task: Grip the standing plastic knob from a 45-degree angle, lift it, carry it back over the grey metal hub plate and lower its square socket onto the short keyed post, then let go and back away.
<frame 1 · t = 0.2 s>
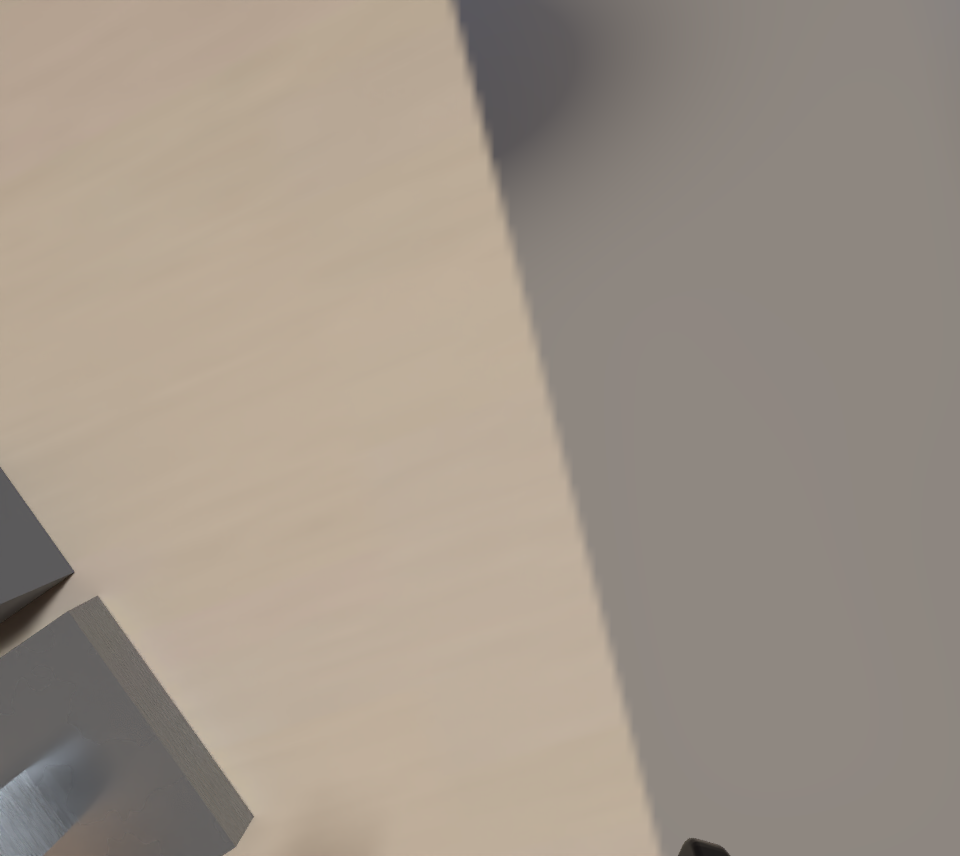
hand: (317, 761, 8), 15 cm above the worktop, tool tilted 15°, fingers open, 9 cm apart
hub plate: (50, 790, 25), on the worktop
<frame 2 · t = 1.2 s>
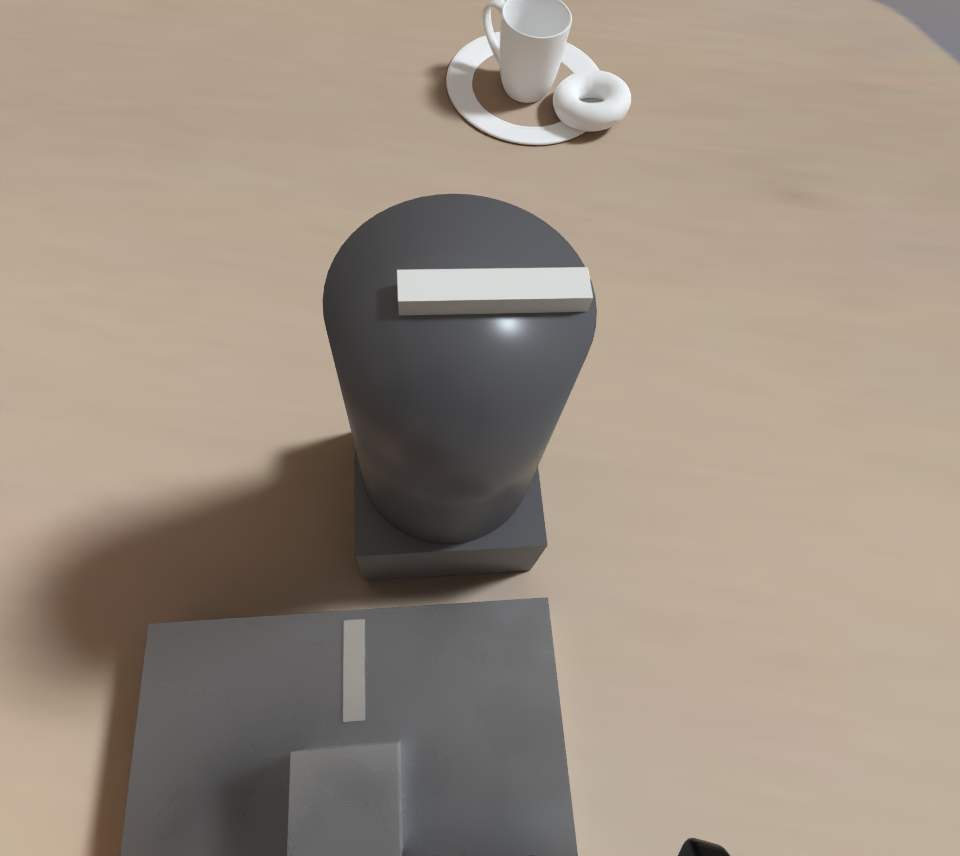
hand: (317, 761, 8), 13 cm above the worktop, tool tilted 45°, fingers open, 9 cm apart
hub plate: (359, 791, 19), on the worktop
teacup and saucer: (526, 142, 32), on the worktop
knob: (443, 496, 23), on the worktop
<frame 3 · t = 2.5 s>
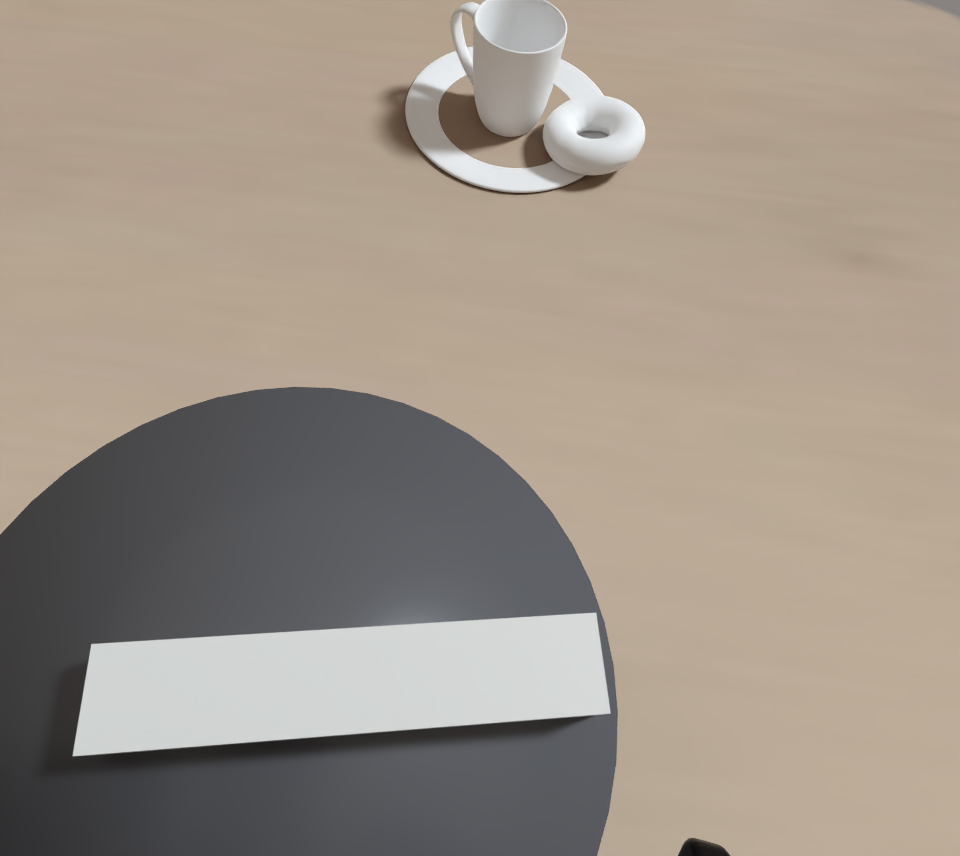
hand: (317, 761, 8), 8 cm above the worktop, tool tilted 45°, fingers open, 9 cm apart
teacup and saucer: (508, 188, 24), on the worktop
knob: (375, 723, 16), on the worktop
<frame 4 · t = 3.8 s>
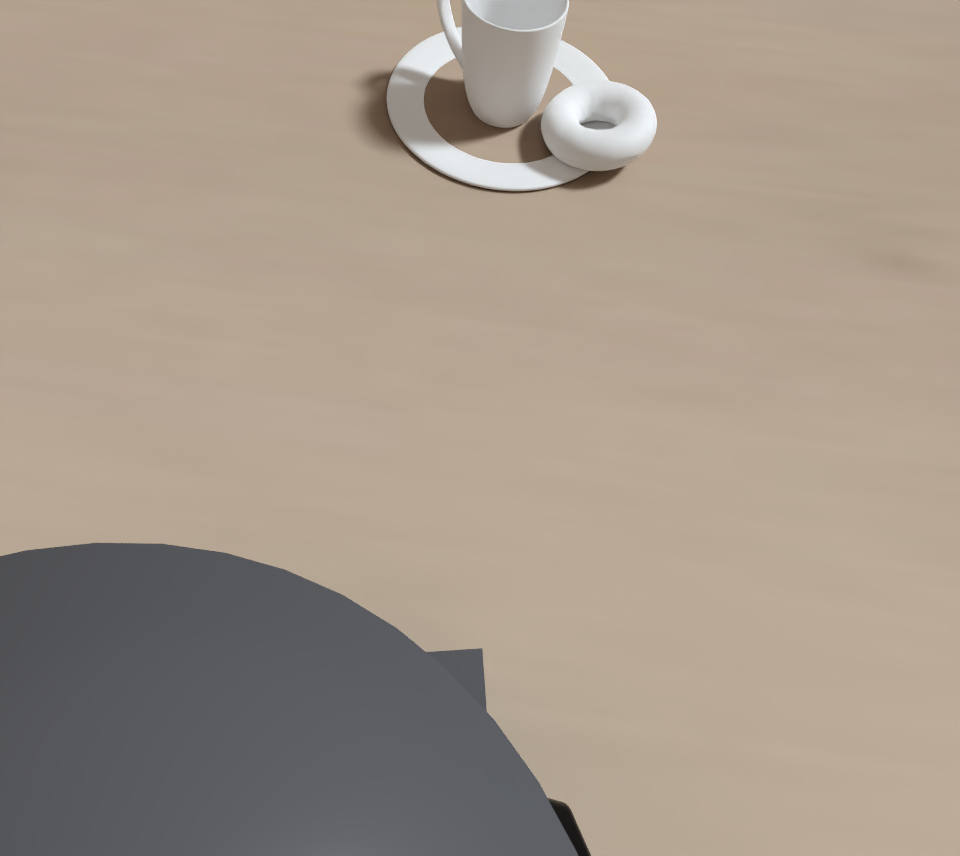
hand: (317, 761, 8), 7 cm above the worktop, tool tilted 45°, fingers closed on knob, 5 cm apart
teacup and saucer: (502, 186, 22), on the worktop
knob: (340, 822, 13), on the worktop, touching gripper
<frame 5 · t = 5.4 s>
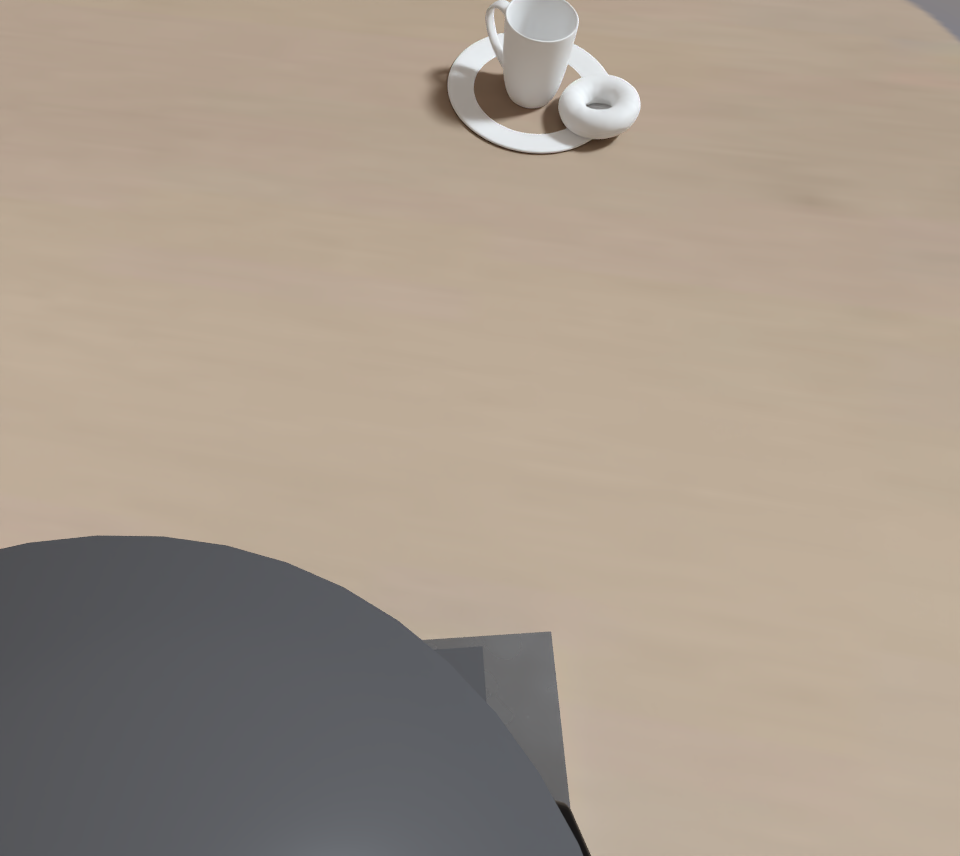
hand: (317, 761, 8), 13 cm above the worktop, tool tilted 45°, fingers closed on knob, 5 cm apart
hub plate: (353, 834, 19), on the worktop
teacup and saucer: (530, 150, 30), on the worktop
knob: (340, 820, 13), point 6 cm above the worktop, touching gripper
when the fingers open (9 cm above the worktop, at t = 7.0 s): knob stays where it is, resting on hub plate.
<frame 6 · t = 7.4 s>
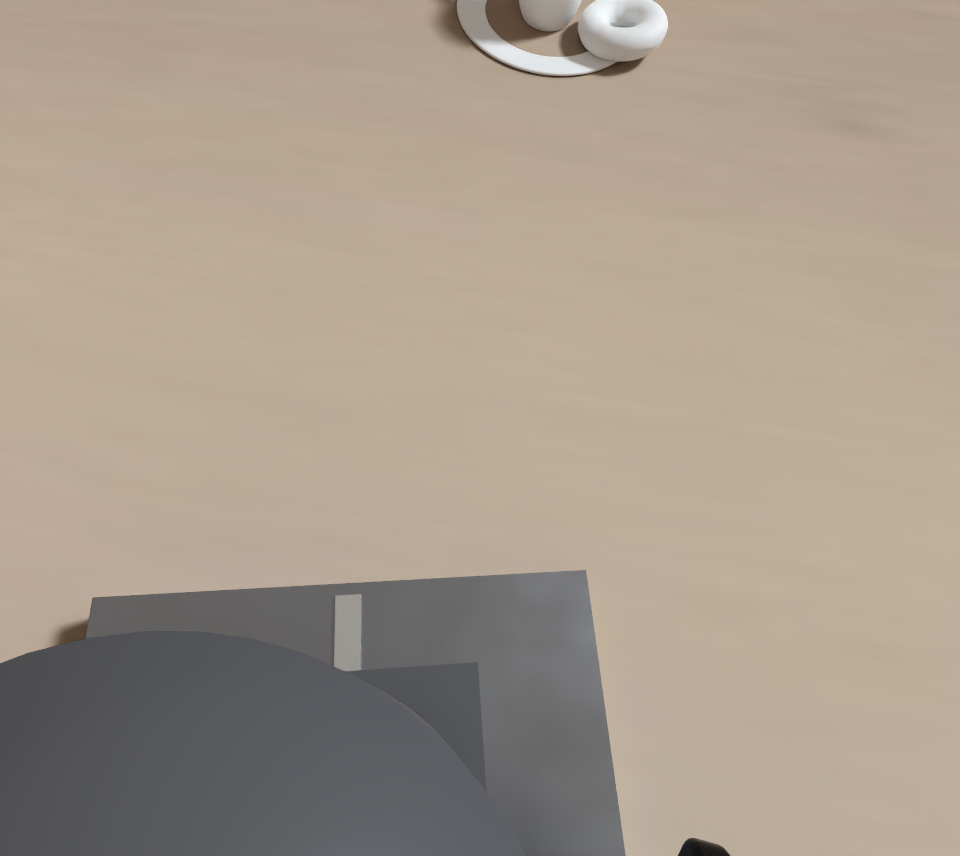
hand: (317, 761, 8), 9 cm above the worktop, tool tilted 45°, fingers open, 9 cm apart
hub plate: (353, 808, 16), on the worktop
teacup and saucer: (547, 76, 28), on the worktop
knob: (344, 820, 14), point 2 cm above the worktop, touching hub plate
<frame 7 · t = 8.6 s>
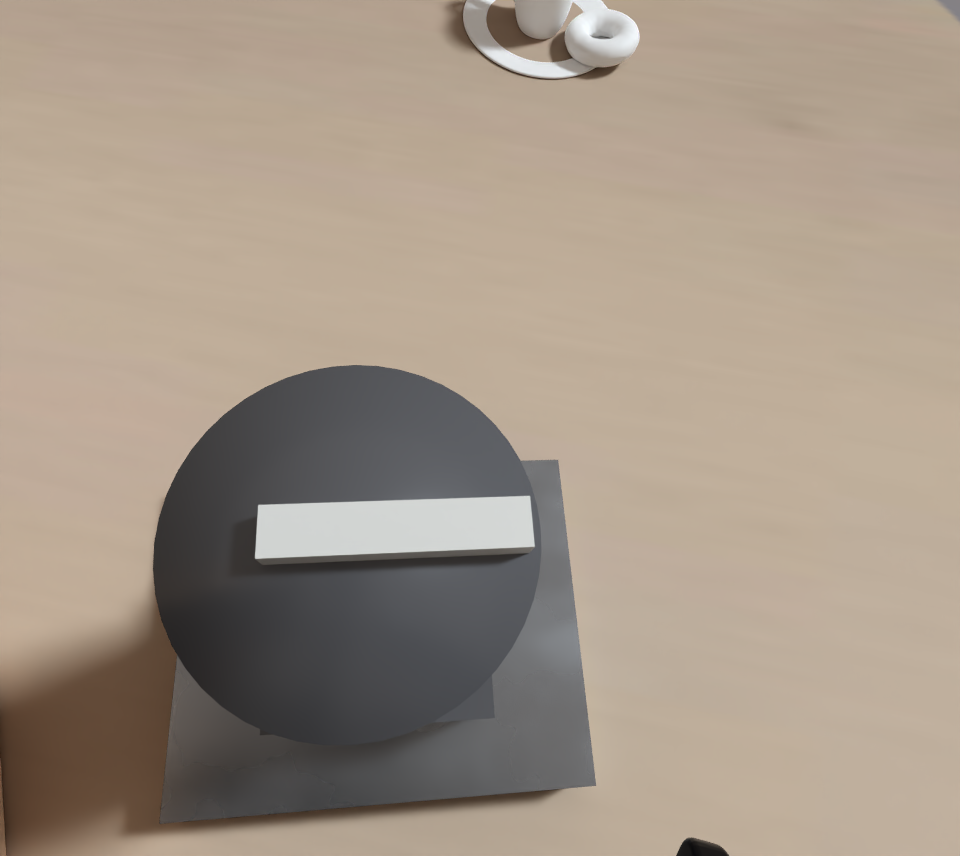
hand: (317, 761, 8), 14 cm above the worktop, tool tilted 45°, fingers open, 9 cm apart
hub plate: (386, 624, 22), on the worktop
teacup and saucer: (538, 77, 33), on the worktop
knob: (383, 620, 20), point 2 cm above the worktop, touching hub plate
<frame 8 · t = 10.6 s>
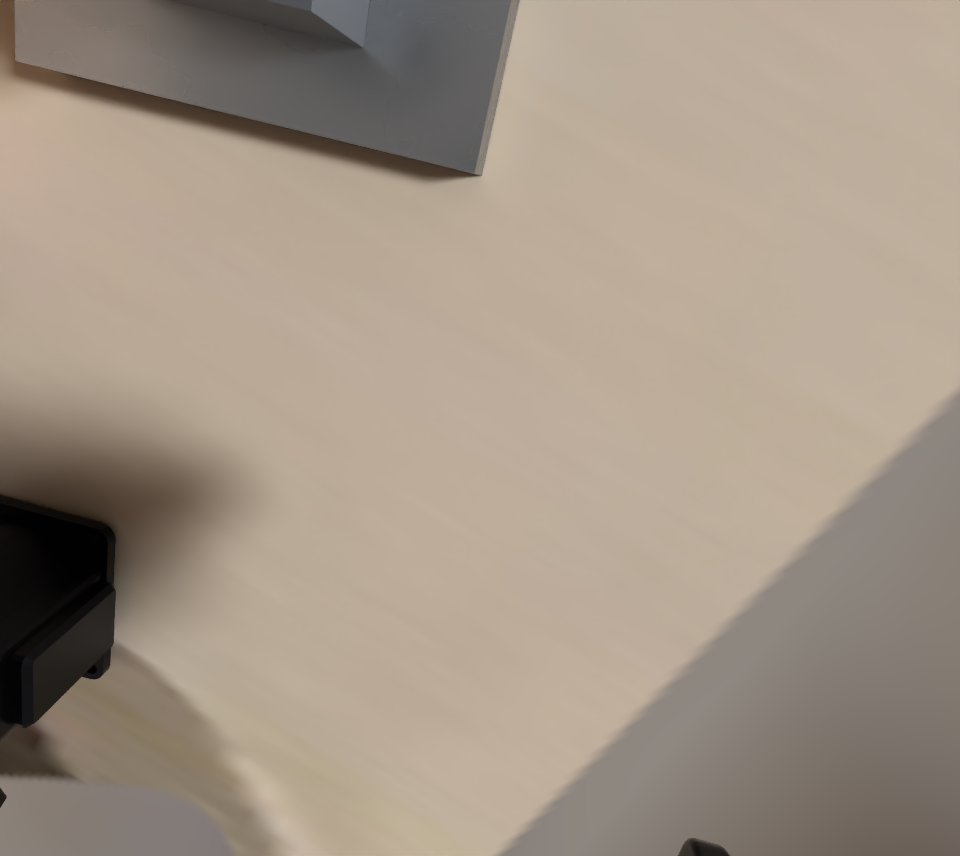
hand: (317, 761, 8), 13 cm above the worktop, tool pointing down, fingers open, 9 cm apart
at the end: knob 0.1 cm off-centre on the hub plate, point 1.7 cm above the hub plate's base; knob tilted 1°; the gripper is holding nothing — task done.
